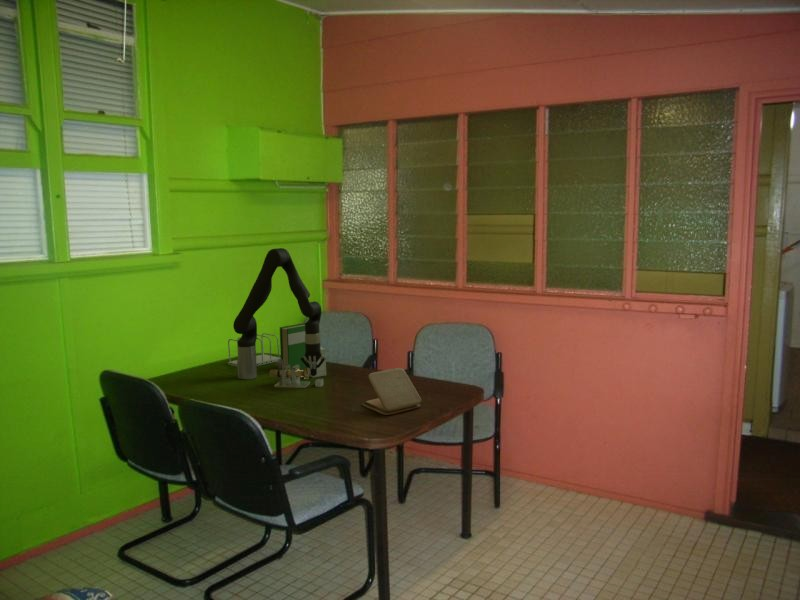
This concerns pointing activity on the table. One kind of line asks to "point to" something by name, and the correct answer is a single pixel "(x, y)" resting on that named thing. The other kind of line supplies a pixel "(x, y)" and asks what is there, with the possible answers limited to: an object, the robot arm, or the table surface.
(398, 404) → the case
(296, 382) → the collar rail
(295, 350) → the hardback book
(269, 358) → the file sorter
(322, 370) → the skincare box
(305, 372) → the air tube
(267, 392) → the table surface
